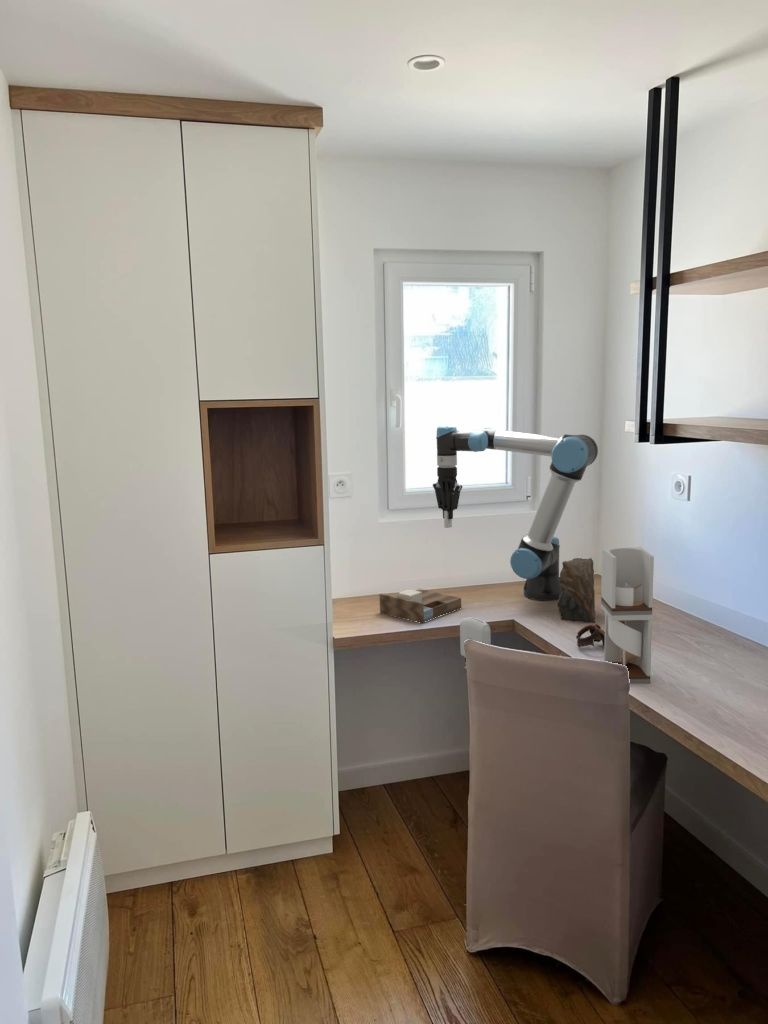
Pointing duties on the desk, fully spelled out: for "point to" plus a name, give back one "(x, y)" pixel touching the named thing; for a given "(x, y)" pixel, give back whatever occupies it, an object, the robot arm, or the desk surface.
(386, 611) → the trap deck
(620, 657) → the curved two-tier shelf
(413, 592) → the cream block
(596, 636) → the brown curved openwork arch
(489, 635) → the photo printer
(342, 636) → the desk surface
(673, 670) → the desk surface
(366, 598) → the desk surface
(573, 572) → the brown rock
